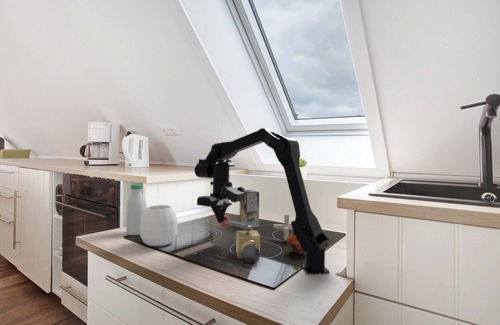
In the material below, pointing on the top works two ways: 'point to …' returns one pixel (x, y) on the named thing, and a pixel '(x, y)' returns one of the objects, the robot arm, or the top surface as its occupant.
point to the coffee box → (250, 208)
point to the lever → (235, 224)
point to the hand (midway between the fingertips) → (220, 223)
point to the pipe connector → (284, 226)
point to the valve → (248, 245)
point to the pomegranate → (294, 244)
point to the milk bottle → (135, 209)
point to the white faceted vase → (158, 225)
